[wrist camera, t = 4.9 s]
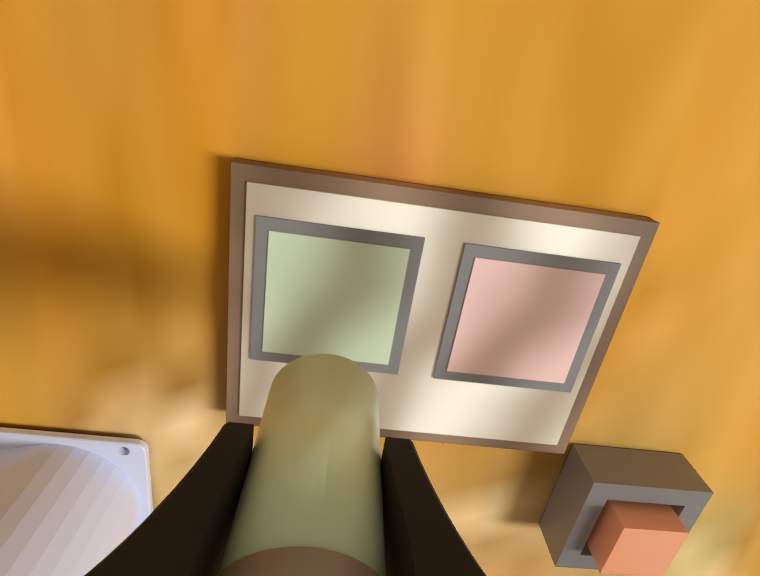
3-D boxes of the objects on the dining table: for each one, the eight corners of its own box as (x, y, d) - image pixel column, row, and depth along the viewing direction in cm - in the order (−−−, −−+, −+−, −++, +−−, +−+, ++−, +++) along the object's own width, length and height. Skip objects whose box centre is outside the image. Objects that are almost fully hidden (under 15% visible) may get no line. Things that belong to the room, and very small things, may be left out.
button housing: (539, 524, 27) (555, 566, 25) (573, 443, 25) (594, 482, 23) (639, 531, 28) (663, 573, 26) (682, 453, 25) (713, 492, 23)
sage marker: (263, 437, 15) (169, 798, 8) (268, 344, 13) (158, 680, 6) (373, 447, 15) (381, 802, 8) (389, 357, 14) (418, 691, 7)
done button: (583, 536, 25) (600, 573, 24) (604, 492, 24) (624, 527, 22) (640, 540, 26) (661, 577, 24) (664, 497, 24) (689, 533, 22)
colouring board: (230, 411, 23) (224, 426, 22) (236, 157, 18) (229, 163, 17) (558, 442, 25) (565, 457, 24) (649, 216, 20) (663, 225, 19)
